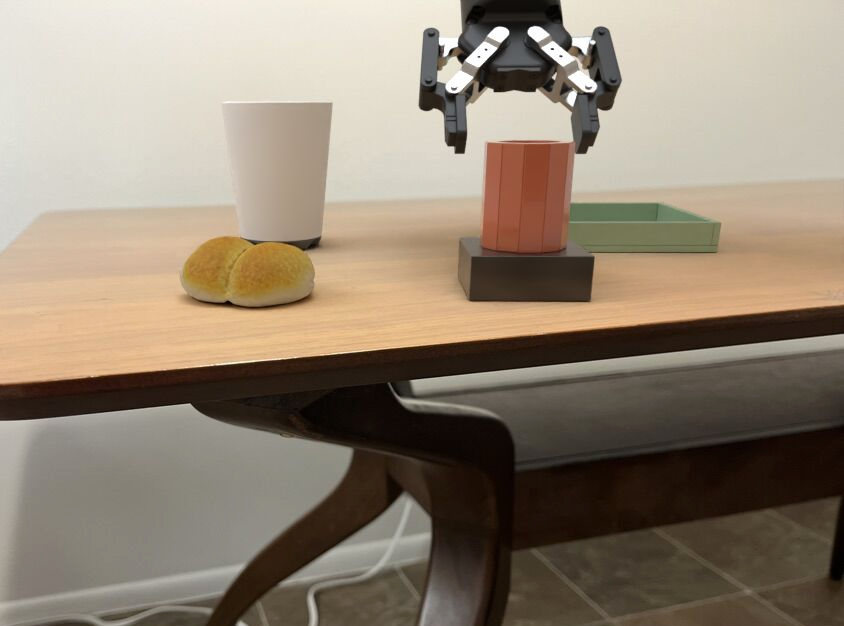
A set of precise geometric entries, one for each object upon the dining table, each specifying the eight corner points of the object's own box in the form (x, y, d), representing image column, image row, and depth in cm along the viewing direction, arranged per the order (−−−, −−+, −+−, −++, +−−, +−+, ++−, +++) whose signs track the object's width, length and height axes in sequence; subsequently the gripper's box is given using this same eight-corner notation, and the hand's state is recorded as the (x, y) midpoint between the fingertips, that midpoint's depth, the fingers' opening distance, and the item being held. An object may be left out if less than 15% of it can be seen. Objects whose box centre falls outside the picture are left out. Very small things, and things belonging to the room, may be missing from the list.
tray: (659, 227, 85) (662, 202, 84) (717, 252, 71) (721, 222, 70) (494, 227, 86) (495, 202, 85) (518, 252, 72) (520, 222, 71)
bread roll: (287, 313, 51) (285, 250, 50) (165, 302, 54) (160, 242, 53) (335, 286, 58) (334, 230, 57) (225, 278, 61) (222, 225, 60)
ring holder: (564, 277, 61) (573, 167, 59) (590, 301, 54) (603, 177, 51) (457, 276, 62) (462, 168, 59) (469, 300, 54) (475, 177, 51)
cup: (270, 258, 69) (265, 100, 65) (207, 244, 76) (199, 101, 72) (355, 245, 76) (356, 100, 71) (290, 233, 83) (287, 101, 78)
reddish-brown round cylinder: (555, 239, 59) (563, 139, 57) (574, 253, 54) (584, 143, 52) (475, 239, 60) (480, 139, 57) (486, 253, 54) (491, 143, 52)
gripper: (419, -56, 61) (423, 106, 54) (612, -58, 60) (642, 105, 53) (414, 28, 68) (417, 181, 60) (588, 26, 67) (611, 181, 60)
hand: (522, 146), depth 57 cm, fingers open, 8 cm apart
